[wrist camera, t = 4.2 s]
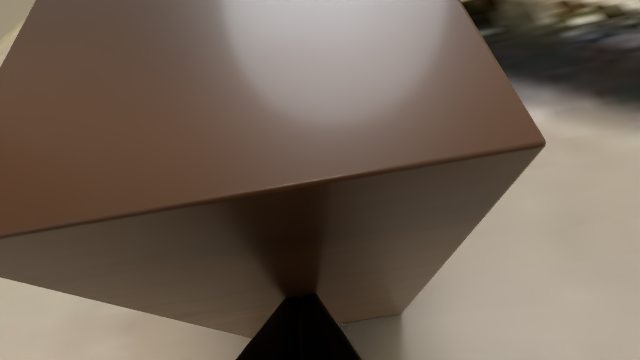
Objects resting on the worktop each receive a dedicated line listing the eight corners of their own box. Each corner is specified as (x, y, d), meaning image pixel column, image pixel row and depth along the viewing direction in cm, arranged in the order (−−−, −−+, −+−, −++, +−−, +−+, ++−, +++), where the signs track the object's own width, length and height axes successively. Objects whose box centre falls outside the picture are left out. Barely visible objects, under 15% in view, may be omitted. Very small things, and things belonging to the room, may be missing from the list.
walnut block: (402, 313, 15) (551, 143, 3) (249, 337, 15) (-103, 254, 3) (365, 165, 19) (377, -139, 7) (245, 186, 19) (77, -82, 7)
